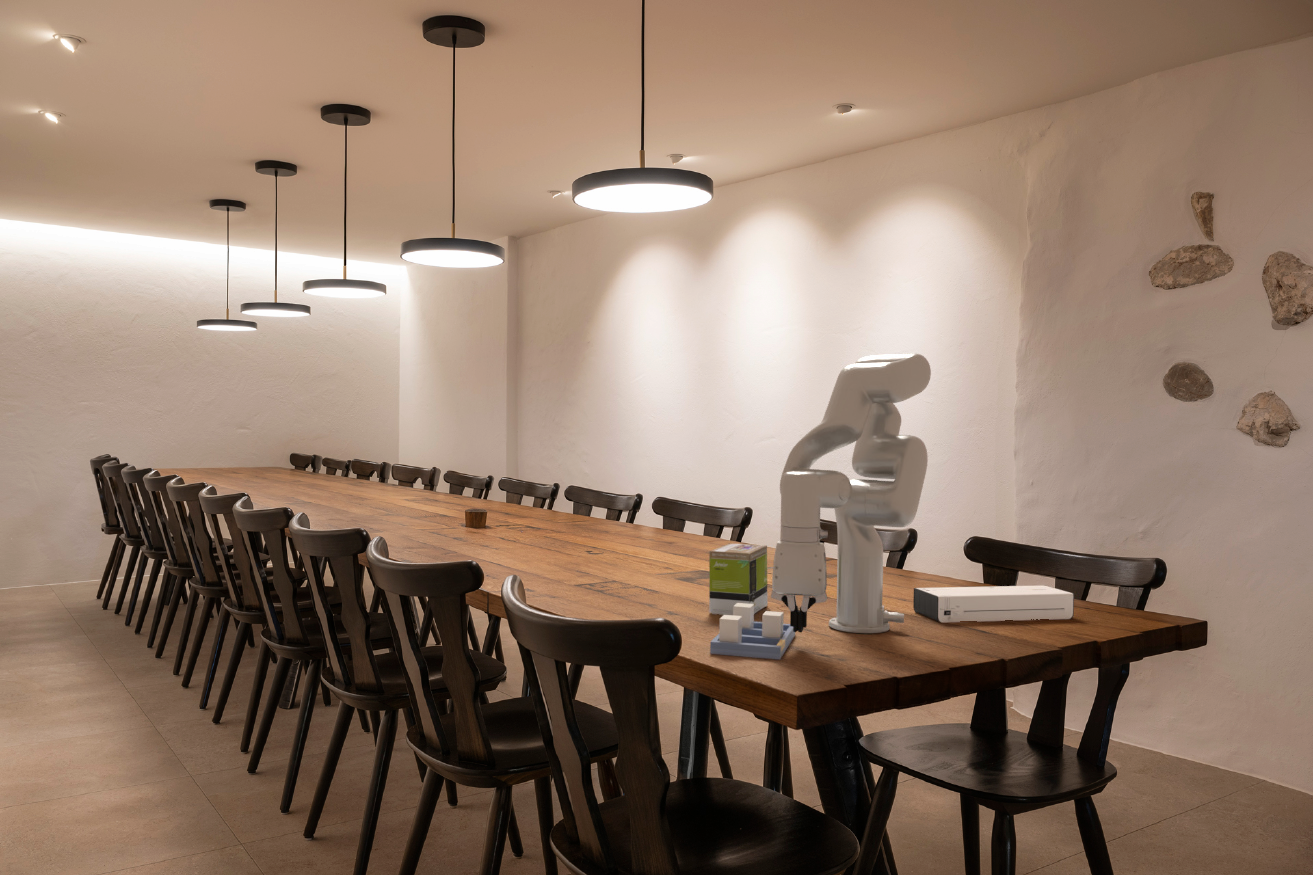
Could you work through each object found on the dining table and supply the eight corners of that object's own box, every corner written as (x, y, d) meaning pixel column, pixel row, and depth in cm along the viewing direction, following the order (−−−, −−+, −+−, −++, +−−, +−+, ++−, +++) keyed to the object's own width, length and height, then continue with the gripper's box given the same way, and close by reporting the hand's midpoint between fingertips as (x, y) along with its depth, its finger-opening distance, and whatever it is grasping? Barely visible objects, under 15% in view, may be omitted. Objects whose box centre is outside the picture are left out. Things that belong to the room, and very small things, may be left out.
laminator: (1043, 610, 217) (1044, 585, 217) (1076, 621, 205) (1077, 594, 205) (913, 614, 210) (913, 587, 210) (939, 625, 198) (940, 597, 198)
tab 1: (741, 642, 172) (742, 615, 172) (737, 646, 169) (737, 620, 169) (723, 640, 173) (724, 614, 173) (719, 645, 170) (719, 618, 170)
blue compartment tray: (795, 635, 184) (795, 624, 184) (779, 659, 164) (780, 647, 164) (732, 630, 188) (732, 619, 188) (710, 653, 168) (710, 641, 168)
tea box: (728, 602, 219) (729, 542, 219) (768, 606, 215) (769, 544, 215) (707, 614, 205) (708, 549, 205) (750, 618, 201) (751, 551, 201)
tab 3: (783, 637, 177) (783, 612, 177) (780, 642, 173) (780, 616, 173) (765, 636, 178) (765, 610, 178) (761, 640, 174) (762, 614, 174)
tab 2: (753, 628, 185) (754, 603, 185) (750, 632, 181) (750, 607, 181) (736, 626, 186) (737, 602, 186) (732, 630, 182) (733, 606, 182)
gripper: (841, 535, 175) (839, 629, 175) (764, 532, 179) (762, 624, 179) (838, 539, 168) (836, 638, 168) (758, 535, 172) (756, 631, 172)
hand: (798, 630), depth 174 cm, fingers closed
